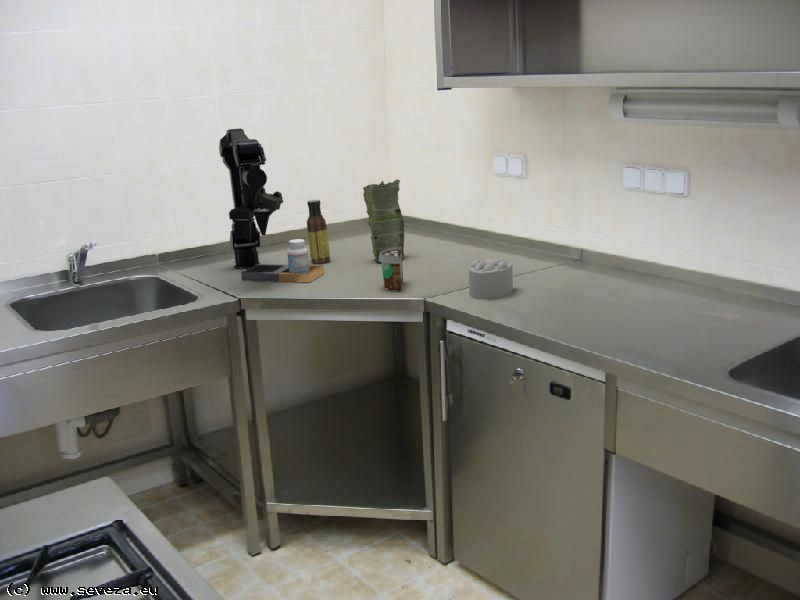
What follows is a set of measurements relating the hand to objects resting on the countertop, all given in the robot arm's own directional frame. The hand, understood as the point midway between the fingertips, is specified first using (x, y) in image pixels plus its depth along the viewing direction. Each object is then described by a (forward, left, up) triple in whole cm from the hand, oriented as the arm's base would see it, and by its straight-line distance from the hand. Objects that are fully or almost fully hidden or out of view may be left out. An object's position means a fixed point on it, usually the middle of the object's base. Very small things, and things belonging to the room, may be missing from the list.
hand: (256, 238), depth 245 cm
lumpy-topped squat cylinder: (+69, -4, -13) cm, 71 cm away
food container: (+41, -1, -13) cm, 43 cm away
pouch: (+29, +31, -13) cm, 44 cm away
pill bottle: (+10, +6, -13) cm, 18 cm away
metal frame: (+4, +6, -13) cm, 15 cm away
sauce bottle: (+8, +26, -13) cm, 30 cm away
